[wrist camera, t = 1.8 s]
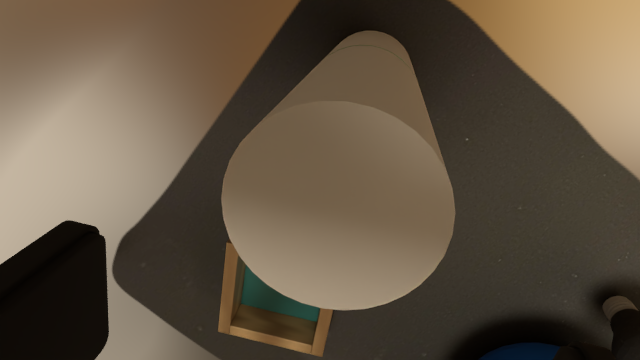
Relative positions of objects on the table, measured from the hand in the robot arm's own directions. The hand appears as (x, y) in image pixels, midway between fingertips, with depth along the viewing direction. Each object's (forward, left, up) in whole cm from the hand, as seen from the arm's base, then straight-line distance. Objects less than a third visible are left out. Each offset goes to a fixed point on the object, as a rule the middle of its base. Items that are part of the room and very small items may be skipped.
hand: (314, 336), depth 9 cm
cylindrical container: (0, 0, -30) cm, 30 cm away
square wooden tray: (-4, -22, -30) cm, 37 cm away
